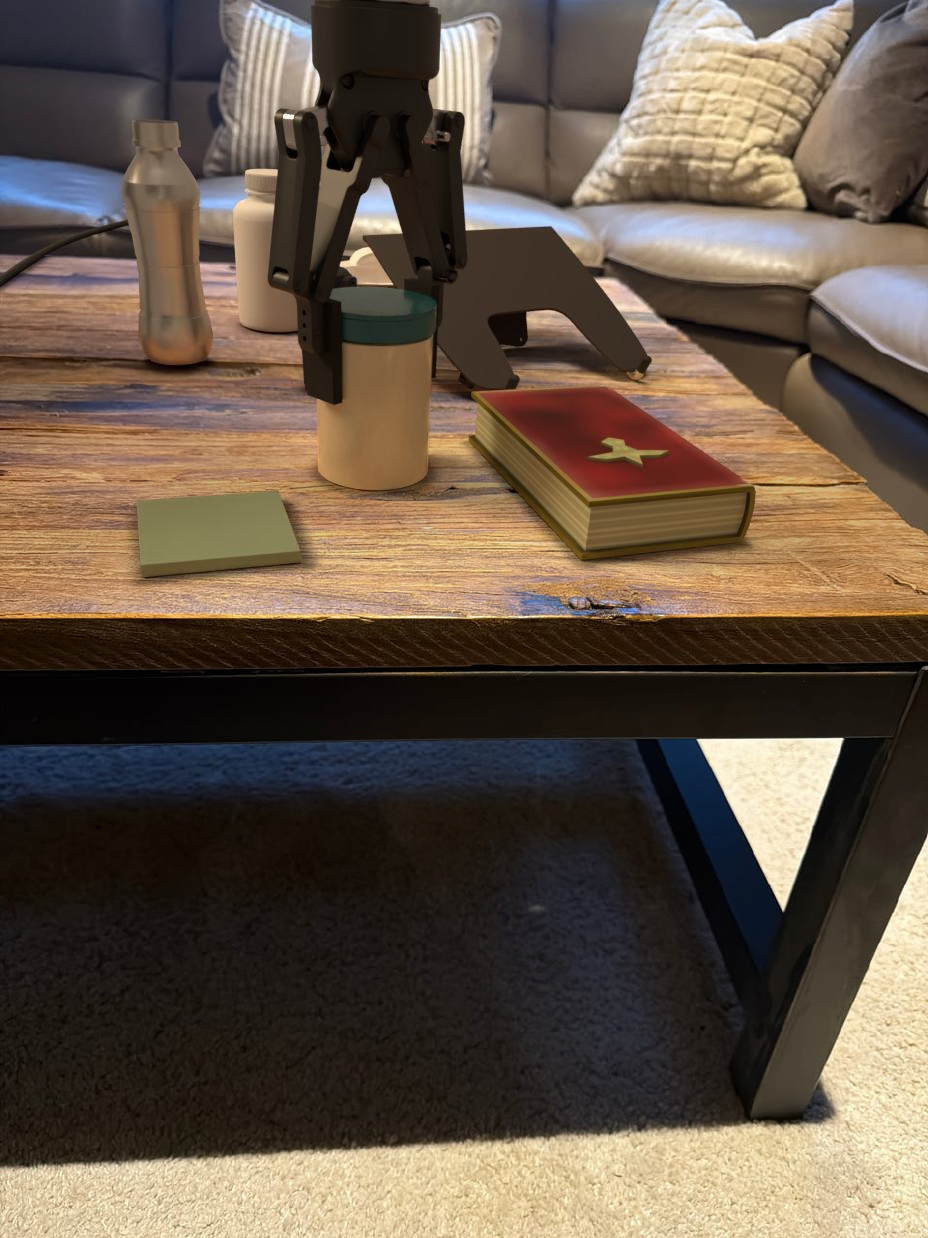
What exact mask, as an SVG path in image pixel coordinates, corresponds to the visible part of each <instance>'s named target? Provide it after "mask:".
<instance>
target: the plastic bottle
mask: <svg viewBox="0 0 928 1238" xmlns="http://www.w3.org/2000/svg"><path fill="white" fill-rule="evenodd" d="M131 131H132V139H131V143H132V146H134V147H136V154H135V155H134V157H133V159H132V160H131V162H130V164H129V165H128V167H127V169H126V171H125V173H124V176H123V178H122V181H121V188H120V193H121V199H122V203H123V204H124V206H123V208H124V211H125V215H126V220H128V223H129V230H130V234H131V238H132V244H133V249H134V250H133V251H134V255H135V257H136V268H137V274H138V294H139V299H138V300H139V313H138V325H137V327H138V334H137V335H138V340H139V343H140V346H141V350H142V352H143V354H144V355H145V356H146V357H147V359H148V360H149V361H150V362H152V363H155V364H159V365H167V366H185V365H186V366H187V365H192V364H197V363H201V362H203V361H205V360H207V359H208V357H209V355H210V353H211V352H212V350H213V340H214V331H213V327H212V323H211V319H210V314H209V311H208V310H207V304H206V299H205V293H204V289H203V288H204V286H203V282H202V281H203V280H202V276H201V261H200V258H199V257H200V222H201V219H200V218H201V206H200V205H201V191H200V188H199V185H198V182H197V179H195V177H194V175H193V173H192V172H191V170H190V169H189V167H188V165H187V164H186V163H185V161H184V160H183V159H182V157H181V156H180V155H179V152H178V151H179V150H178V148H181V147H182V143H181V140H180V132H179V124H178V122H177V121H173V120H164V119H163V120H162V119H133V120H131Z"/></svg>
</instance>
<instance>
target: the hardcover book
mask: <svg viewBox="0 0 928 1238" xmlns="http://www.w3.org/2000/svg"><path fill="white" fill-rule="evenodd" d="M470 393H471V394H470V397H471V398H472V399H473V400H474V401H475V402H476V415H475V416H476V417H475V431H474V434H473V435H472V434H471V435H470V434H469V435H468V439H467V440H468V441H469V443H470V444H472V446H473V447H474V448H475V449H476V450H477V451H478V452H479V453H480V454H481V455H482V456H483V457H484V459H485V460H487V462H488V463H489V464H490V465H491V466H492V467H493V468H494V469H495V470H496V471H497V473H498V474H499V475H501V476H502V478H503V479H504V480H505V481H506V482H507V483H508V484H509V485H510V486H511V487H512V488H513V490H515V491H516V492H517V494H519V496H520V497H521V498H522V499H523V500H524V501H525V502H526V503H527V504H528V505H529V506H530V507H531V508H532V509H533V511H534V512H536V514H537V515H538V516H539V517H540V518H541V519H542V520H543V521H544V522H545V523H546V525H547V526H548V527H549V528H550V529H551V530H552V531H553V532H554V534H556V535H557V536H558V537H559V538H560V539H561V540H562V541H563V543H564V544H565V545H566V546H567V547H568V548H569V549H570V550H571V551H572V552H573V553H574V554H575V555H576V556H577V557H578V559H580V561H585V560H587V561H588V560H595V559H603V558H613V557H622V556H629V555H638V554H645V553H648V554H649V553H655V552H656V553H657V552H665V551H672V550H682V549H689V548H690V549H692V548H700V547H708V546H717V545H723V544H734V543H735V544H736V543H741V542H742V541H743V540H744V538H745V537H746V536H747V533H748V531H749V528H750V525H751V522H752V518H753V515H754V512H755V510H754V509H755V505H756V494H757V493H756V489H755V485H753V484H751V483H750V482H749V481H747V480H746V479H744V478H743V477H742V476H740V475H739V474H737V473H736V472H734V471H732V470H731V469H730V468H728V467H727V466H725V465H724V464H723V463H721V462H720V461H718V460H717V459H715V458H713V457H712V456H710V455H709V454H708V453H706V452H705V451H703V450H702V449H700V448H699V447H698V446H696V445H695V444H694V443H692V442H690V441H689V440H688V439H686V438H685V437H683V436H681V435H680V434H679V433H677V432H676V431H674V430H673V429H672V428H670V427H668V426H667V425H665V424H664V423H662V422H661V421H660V420H658V419H657V418H655V417H654V416H652V415H651V414H650V413H648V412H646V411H645V410H643V409H642V408H640V407H639V406H638V405H636V404H635V403H634V402H632V401H631V400H630V399H628V398H626V397H624V396H623V395H621V393H619V392H618V391H615V390H614V389H613V388H612V387H610V386H608V384H592V385H573V386H553V387H552V386H551V387H535V388H533V387H532V388H516V389H513V390H494V391H490V390H479V391H478V390H476V391H471V392H470Z"/></svg>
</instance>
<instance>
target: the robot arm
mask: <svg viewBox="0 0 928 1238" xmlns="http://www.w3.org/2000/svg"><path fill="white" fill-rule="evenodd" d="M313 1H314V3H313V4H312V5H310V21H311V22H310V24H311V25H310V26H311V27H310V29H311V63H312V66H313V68H314V69H315V70H316V71H317V74H318V77H319V88H318V93H317V96H316V99H315V102H314V105H313V106H309V107H307V108H302V109H292V108H291V109H290V108H283V107H281V108H278V109H277V110H276V111H275V113H274V117H273V123H274V128H275V129H274V130H275V136H276V142H277V148H278V165H277V170H278V173H277V184H276V194H275V205H274V215H273V225H272V236H271V246H270V257H269V267H268V283H269V285H270V286H271V287H272V288H275V289H278V290H281V291H284V292H288V293H290V294H292V295H293V296H294V297H295V299H296V302H297V325H298V331H297V344H298V345H299V349H300V350H301V351H302V350H305V351H306V374H307V386H306V395H307V396H308V397H311V398H314V399H316V398H317V399H319V400H322V401H324V402H327V403H330V404H332V405H336V404H340V403H342V312H341V302H340V301H337V300H333V299H330V296H331V293H332V289H333V286H334V283H335V279H336V276H337V273H338V270H339V266H340V263H341V262H342V261H343V260H342V259H343V256H344V253H345V250H346V246H347V244H348V243H347V242H348V240H349V236H350V234H351V230H352V226H353V223H354V220H355V218H356V217H355V216H356V213H357V210H358V207H359V203H360V200H361V197H362V196H363V195H364V194H366V193H367V192H368V191H369V189H370V187H371V184H372V180H373V179H378V178H380V179H381V181H382V182H383V183H384V184H385V185H386V186H387V187H388V190H389V193H390V196H391V200H392V204H393V207H394V210H395V213H396V217H397V221H398V224H399V227H400V230H401V233H402V234H403V237H404V241H405V244H406V248H407V251H408V254H409V258H410V261H411V265H412V268H413V272H414V274H415V275H416V276H418V279H415V278H406V279H404V290H408V291H412V292H417V293H420V294H423V295H426V296H429V297H431V298H432V299H434V300H435V301H436V303H437V315H436V331H435V333H434V337H433V361H432V380H434V379H436V378H437V360H438V358H437V356H438V345H437V337H438V327H440V326H441V322H442V318H443V311H442V310H443V295H444V283H447V284H453V283H454V282H455V281H456V279H457V276H458V271H457V270H455V269H460V270H461V269H463V268H465V266H466V264H467V259H468V257H467V242H466V230H467V227H466V213H465V212H466V211H465V199H464V183H463V182H464V181H463V169H462V168H463V167H462V154H461V152H462V146H463V140H464V139H463V138H464V131H465V125H466V118H465V115H464V113H463V112H461V111H456V110H447V109H440V108H434V107H433V102H432V100H431V96H430V89H429V84H430V81H431V80H434V79H435V78H436V77H437V76H438V74H439V73H440V68H441V67H440V66H441V65H440V63H441V39H442V37H441V36H442V33H441V32H442V14H440V13H439V8H438V7H435V6H431V0H313ZM322 147H324V151H322ZM128 226H129V223H128V219H124V220H119V221H116V222H112V223H108V224H105V225H101V226H97V227H94V228H90V229H87V230H85V231H81V232H79V233H76V234H73V235H70V236H67V237H65V238H62V239H60V240H58V241H55V242H53V243H51V244H49V245H47V246H45V247H43V248H41V249H39V250H37V251H36V252H34V253H33V254H30V255H29V256H28V257H26V258H24V259H23V260H21V261H20V262H18V263H16V264H15V265H13V266H12V267H10V268H9V269H7V270H6V271H4V272H3V273H1V274H0V286H1V285H3V284H4V283H6V282H7V281H8V280H10V279H11V278H13V277H14V276H15V275H17V274H19V273H20V272H21V271H23V270H24V269H26V268H27V267H28V266H30V265H32V264H33V263H34V262H36V261H38V260H40V259H41V258H43V257H45V256H46V255H49V254H51V253H53V252H55V251H57V250H59V249H61V248H63V247H65V246H67V245H70V244H73V243H76V242H78V241H80V240H84V239H86V238H89V237H93V236H96V235H99V234H103V233H106V232H109V231H112V230H117V229H121V228H124V227H128ZM447 244H450V248H447ZM314 275H315V279H313V278H314Z"/></svg>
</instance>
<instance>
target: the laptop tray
mask: <svg viewBox="0 0 928 1238" xmlns="http://www.w3.org/2000/svg"><path fill="white" fill-rule="evenodd" d="M362 241H363V242H364V243H366V244H367V245H368V247H370V249H371V250H372V252H373V254H374V255H375V257H376V258H377V260H378V262H379V263H380V265H381V266H382V268H383V269H384V271H385V272H386V274H387V276H388V277H389V279H390V280H391V282H392V283H393V285H392V286H394V289H402V290H404V279H406V278H415V279H418V276H416V275H415V274H414V272H413V268H412V265H411V261H410V258H409V254H408V251H407V248H406V244H405V241H404V237H403V234H402V232H401V233H384V234H364V235H362ZM466 242H467V257H468V259H467V264H466V266H465V268H463V269H461V270H460V269H455V270H457V271H458V276H457V279H456V281H455V282H454V283H453V284H447V283H444V295H443V310H442V311H443V318H442V322H441V326H440V327H438V337H437V348H439V349H440V350H441V352H442V353H443V354H444V356H445V357H446V358H447V359H448V361H449V362H450V363H451V364H452V366H454V367H455V369H456V370H457V371H458V372H459V376H458V378H457V383H459V384H461V385H462V386H465V387H466V389H468V390H474V388H478V389H481V390H483V391H494V390H513V389H517V387H518V385H519V383H520V381H521V377H520V376H519V375H517V374H515V372H514V370H513V368H512V366H511V364H510V362H509V360H508V357H507V355H506V354H505V352H504V349H503V348H502V346H507V347H515V348H522V347H524V346H525V345H526V344H527V343H528V341H529V331H528V319H527V313H530V312H531V313H532V312H542V311H551V312H556V313H559V314H561V315H563V316H565V318H566V319H568V320H569V321H570V322H571V323H572V324H573V325H574V326H575V327H576V329H577V330H578V331H579V332H580V333H581V334H582V336H583V337H584V339H586V340H587V341H588V342H589V343H590V344H591V346H593V348H594V349H596V350H597V351H598V352H599V353H600V355H601V356H602V357H604V358H605V359H606V360H607V361H608V362H609V363H610V364H611V365H612V366H613V367H614V369H616V370H617V371H619V372H622V373H625V374H626V375H627V376H628V377H629V379H631V380H633V381H639V380H640V379H642V377H643V376H644V375H645V374H646V373H647V370H648V368H649V367H650V365H651V364H652V362H653V358H652V356H650V355H648V352H647V351H646V349H645V347H644V346H643V344H642V343H641V341H640V340H639V337H637V335H636V333H635V332H634V331H633V329H632V328H631V325H629V323H628V322H627V320H626V319H625V317H624V316H623V315H622V313H621V311H619V309H618V308H617V306H616V305H615V304H614V302H613V301H612V300H611V298H610V297H609V295H608V294H607V293H606V292H605V290H604V289H603V288H602V286H601V285H600V284H599V282H598V281H597V280H596V278H594V276H593V275H592V273H591V272H590V271H589V270H588V269H587V267H586V266H585V265H584V263H583V262H582V261H581V260H580V259H579V257H578V256H577V255H576V254H575V253H574V252H573V250H572V249H571V248H570V247H569V245H568V244H567V243H566V241H565V240H564V239H563V237H561V235H559V233H558V232H557V231H556V230H555V228H554V227H553V226H552V225H549V226H548V225H547V226H526V227H525V226H524V227H503V228H487V229H485V228H484V229H483V228H482V229H466ZM447 248H450V244H447Z"/></svg>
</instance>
